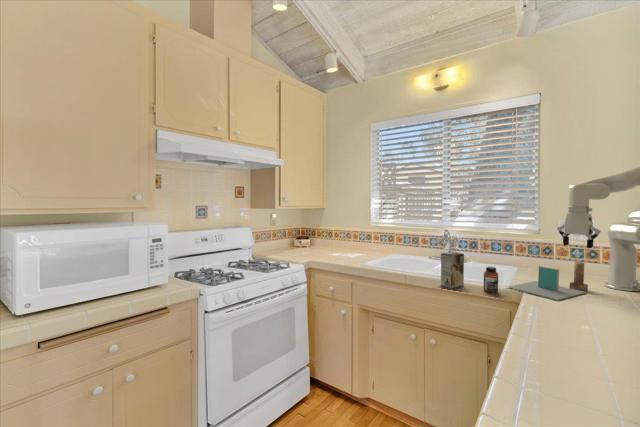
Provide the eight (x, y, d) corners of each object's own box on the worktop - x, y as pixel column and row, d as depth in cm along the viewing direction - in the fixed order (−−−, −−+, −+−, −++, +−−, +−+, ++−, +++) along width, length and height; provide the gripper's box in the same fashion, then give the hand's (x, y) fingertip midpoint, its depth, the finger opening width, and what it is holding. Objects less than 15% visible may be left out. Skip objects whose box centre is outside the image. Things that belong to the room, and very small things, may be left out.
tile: (558, 290, 148) (559, 269, 148) (556, 291, 147) (557, 269, 147) (539, 286, 155) (540, 266, 155) (538, 286, 155) (538, 266, 154)
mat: (586, 293, 146) (586, 292, 146) (557, 301, 135) (557, 299, 135) (535, 282, 166) (535, 281, 166) (506, 288, 155) (506, 286, 155)
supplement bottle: (486, 288, 153) (486, 265, 153) (499, 291, 149) (500, 267, 149) (481, 291, 149) (482, 267, 149) (495, 294, 145) (496, 269, 145)
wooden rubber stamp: (587, 290, 151) (589, 263, 150) (583, 291, 149) (585, 263, 148) (573, 287, 156) (574, 261, 155) (569, 288, 154) (570, 261, 154)
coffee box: (453, 283, 164) (453, 251, 163) (463, 286, 158) (464, 253, 157) (440, 285, 160) (440, 253, 159) (450, 288, 154) (451, 255, 153)
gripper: (605, 210, 145) (604, 248, 146) (562, 209, 161) (561, 243, 162) (596, 211, 142) (595, 249, 143) (553, 210, 158) (553, 244, 159)
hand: (577, 246), depth 152 cm, fingers open, 9 cm apart
